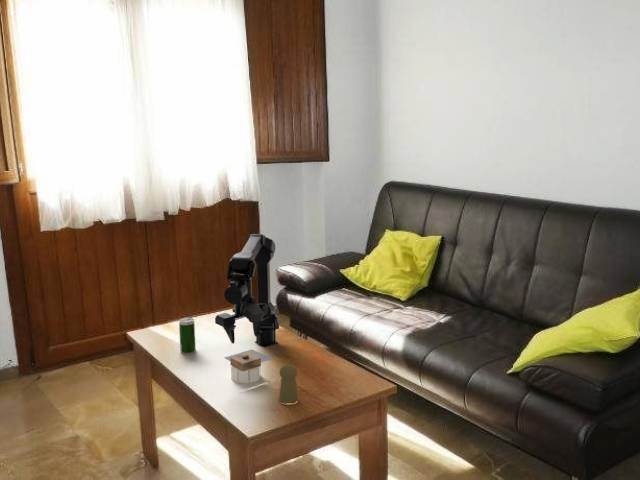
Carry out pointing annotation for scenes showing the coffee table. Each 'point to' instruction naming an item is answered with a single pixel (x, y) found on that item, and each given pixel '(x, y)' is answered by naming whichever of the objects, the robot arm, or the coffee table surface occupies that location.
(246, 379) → the bowl
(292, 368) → the green shaker
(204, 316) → the coffee table surface
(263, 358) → the mat
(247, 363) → the lid
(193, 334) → the beer can
